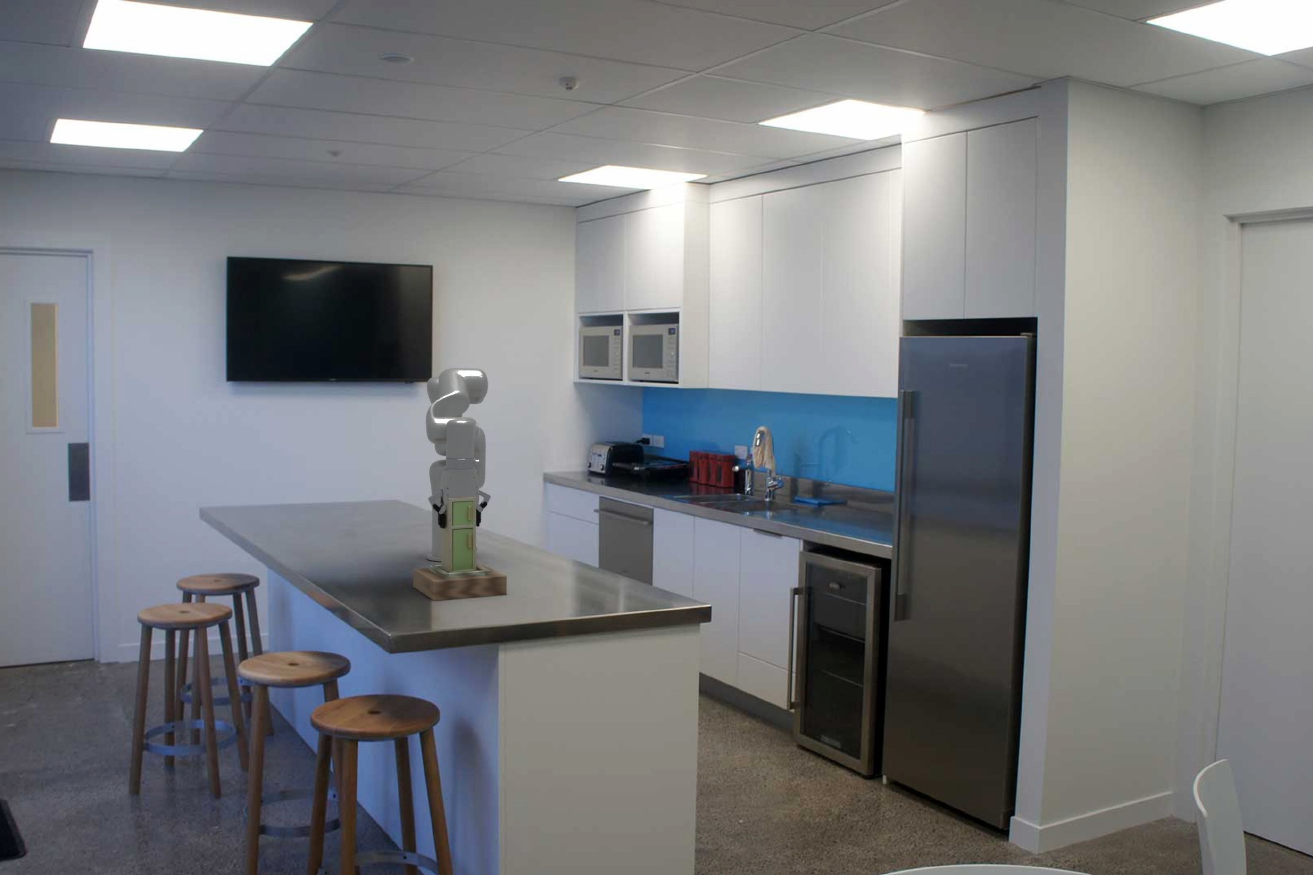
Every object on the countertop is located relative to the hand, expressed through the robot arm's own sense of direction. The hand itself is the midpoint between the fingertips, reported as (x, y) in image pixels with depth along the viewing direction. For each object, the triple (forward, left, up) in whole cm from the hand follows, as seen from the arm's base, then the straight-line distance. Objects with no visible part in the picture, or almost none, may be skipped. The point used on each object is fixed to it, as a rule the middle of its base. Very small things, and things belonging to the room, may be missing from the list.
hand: (459, 526), depth 305 cm
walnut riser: (0, 0, -18) cm, 18 cm away
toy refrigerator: (0, 0, -13) cm, 13 cm away
